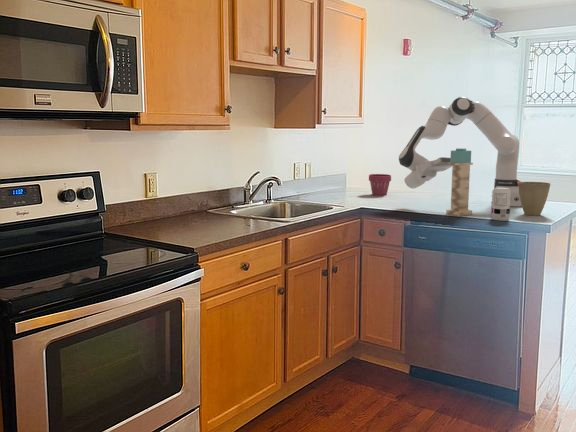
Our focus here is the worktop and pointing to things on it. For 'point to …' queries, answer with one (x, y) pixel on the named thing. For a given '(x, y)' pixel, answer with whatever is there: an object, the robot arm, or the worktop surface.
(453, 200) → the birch stand
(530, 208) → the plant pot
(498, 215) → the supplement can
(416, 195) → the worktop surface
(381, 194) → the plant pot
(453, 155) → the teal cap handle
